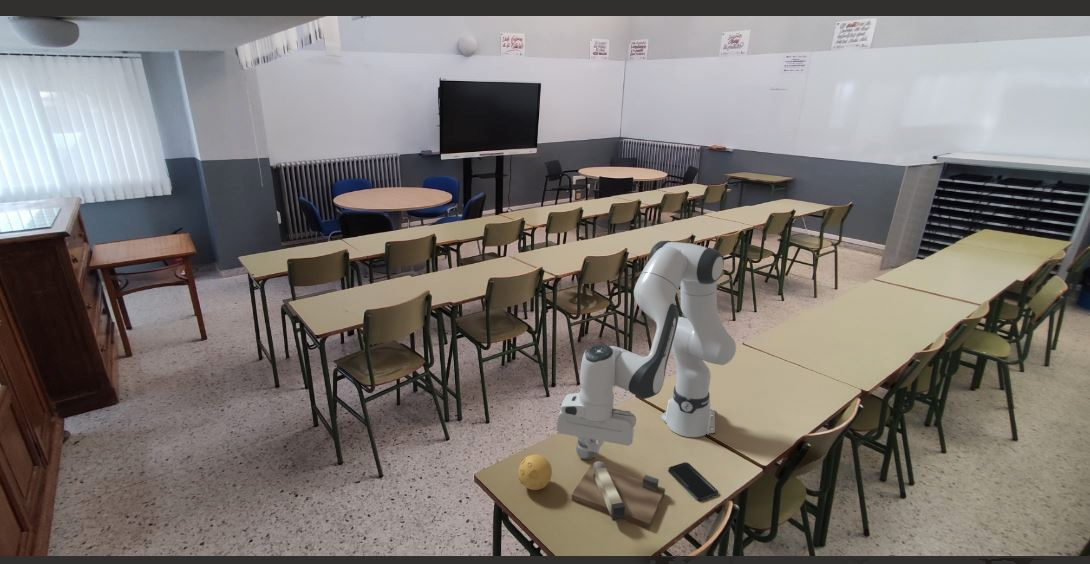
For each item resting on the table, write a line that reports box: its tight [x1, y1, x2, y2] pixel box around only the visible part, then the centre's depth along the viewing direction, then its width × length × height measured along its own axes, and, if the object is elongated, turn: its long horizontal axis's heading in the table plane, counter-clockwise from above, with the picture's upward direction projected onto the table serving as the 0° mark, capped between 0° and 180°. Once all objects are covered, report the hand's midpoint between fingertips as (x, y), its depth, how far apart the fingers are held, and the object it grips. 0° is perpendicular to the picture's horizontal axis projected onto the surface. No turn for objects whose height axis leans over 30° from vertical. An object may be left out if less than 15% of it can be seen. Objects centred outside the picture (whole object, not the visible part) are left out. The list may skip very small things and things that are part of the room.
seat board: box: [570, 463, 666, 530], centre depth 150 cm, size 15×23×5 cm, turn 62°
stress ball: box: [517, 453, 553, 491], centre depth 153 cm, size 10×10×10 cm
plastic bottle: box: [575, 437, 597, 460], centre depth 165 cm, size 6×7×20 cm
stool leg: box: [593, 461, 625, 522], centre depth 148 cm, size 19×3×4 cm, turn 12°
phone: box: [667, 462, 719, 502], centre depth 157 cm, size 8×1×15 cm
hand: (593, 450), depth 139 cm, fingers closed
